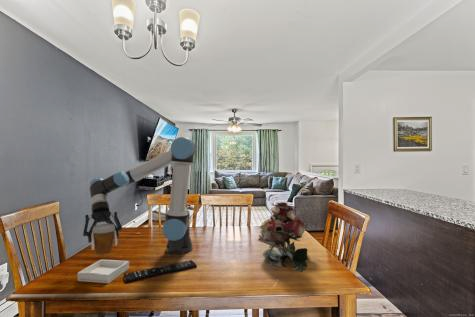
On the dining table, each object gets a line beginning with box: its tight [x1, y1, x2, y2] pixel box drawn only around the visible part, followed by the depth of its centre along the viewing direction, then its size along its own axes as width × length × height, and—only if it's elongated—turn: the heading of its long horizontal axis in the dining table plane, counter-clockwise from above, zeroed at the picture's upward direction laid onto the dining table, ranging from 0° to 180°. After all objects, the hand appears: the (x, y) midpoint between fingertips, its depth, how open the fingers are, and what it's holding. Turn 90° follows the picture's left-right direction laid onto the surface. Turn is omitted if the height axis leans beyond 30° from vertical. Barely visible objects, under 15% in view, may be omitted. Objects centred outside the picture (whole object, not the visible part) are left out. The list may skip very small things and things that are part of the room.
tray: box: [77, 259, 130, 284], centre depth 114 cm, size 15×15×4 cm
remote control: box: [123, 259, 198, 284], centre depth 117 cm, size 8×32×2 cm, turn 120°
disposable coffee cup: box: [92, 223, 115, 256], centre depth 114 cm, size 10×10×12 cm
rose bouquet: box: [257, 201, 308, 273], centre depth 132 cm, size 26×29×30 cm
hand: (104, 246), depth 111 cm, fingers closed on disposable coffee cup, 8 cm apart
